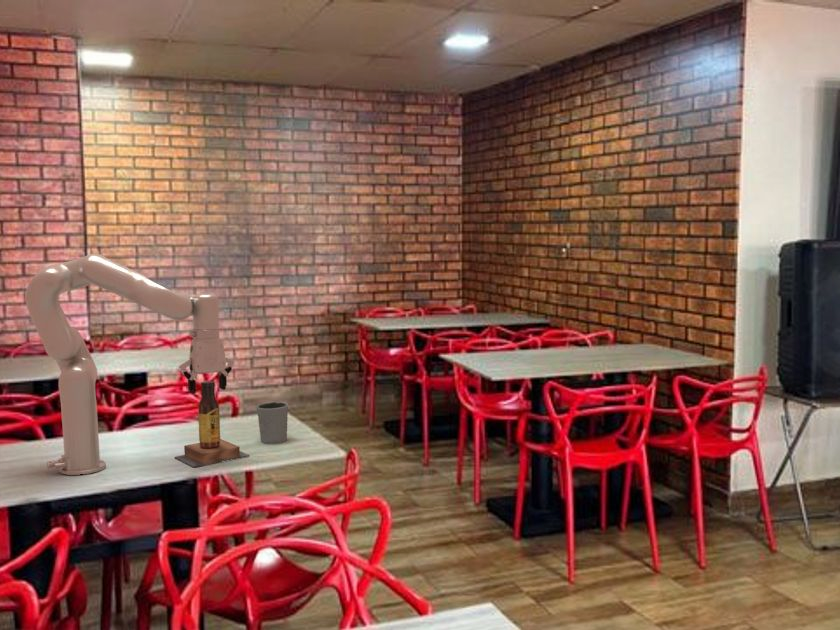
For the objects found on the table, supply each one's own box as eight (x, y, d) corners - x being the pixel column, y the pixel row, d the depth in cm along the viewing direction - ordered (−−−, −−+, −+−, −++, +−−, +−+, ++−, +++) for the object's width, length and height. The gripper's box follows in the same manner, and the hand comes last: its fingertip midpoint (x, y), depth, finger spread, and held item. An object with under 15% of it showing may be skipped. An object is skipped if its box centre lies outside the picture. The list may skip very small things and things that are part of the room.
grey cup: (291, 436, 275) (289, 401, 273) (287, 444, 265) (285, 407, 263) (260, 437, 274) (259, 402, 273) (255, 445, 264) (254, 408, 263)
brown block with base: (193, 468, 240) (193, 456, 239) (174, 458, 250) (174, 447, 250) (249, 456, 251) (249, 445, 250) (228, 447, 262) (228, 436, 261)
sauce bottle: (214, 449, 246) (211, 384, 244) (195, 448, 248) (192, 383, 246) (224, 443, 253) (221, 380, 251) (205, 443, 254) (202, 380, 252)
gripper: (184, 338, 238) (185, 396, 240) (238, 333, 249) (239, 389, 251) (173, 335, 244) (175, 392, 246) (227, 331, 255) (228, 385, 257)
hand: (207, 390), depth 248 cm, fingers open, 9 cm apart
